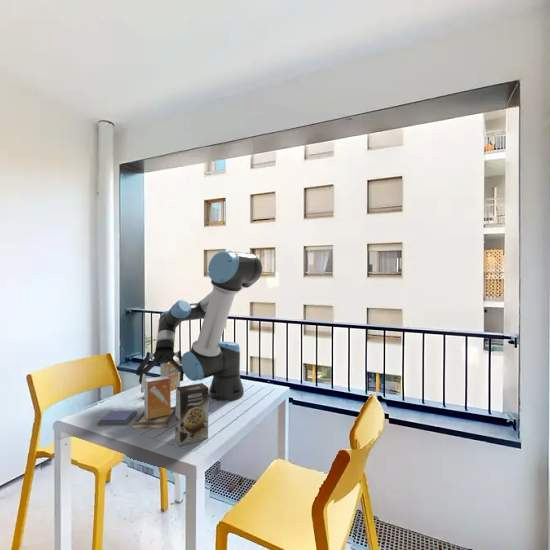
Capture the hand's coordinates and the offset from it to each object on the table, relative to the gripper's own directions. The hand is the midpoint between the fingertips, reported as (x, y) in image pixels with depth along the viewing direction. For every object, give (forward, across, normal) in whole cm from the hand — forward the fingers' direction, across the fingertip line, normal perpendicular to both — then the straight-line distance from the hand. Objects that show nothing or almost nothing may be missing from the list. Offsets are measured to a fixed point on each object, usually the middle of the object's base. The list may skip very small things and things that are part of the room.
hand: (160, 389), depth 123 cm
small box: (+10, 0, +1) cm, 10 cm away
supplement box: (-11, -2, -23) cm, 25 cm away
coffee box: (+23, -13, +13) cm, 29 cm away
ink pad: (+9, +14, -2) cm, 17 cm away
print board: (+11, 0, +1) cm, 11 cm away
